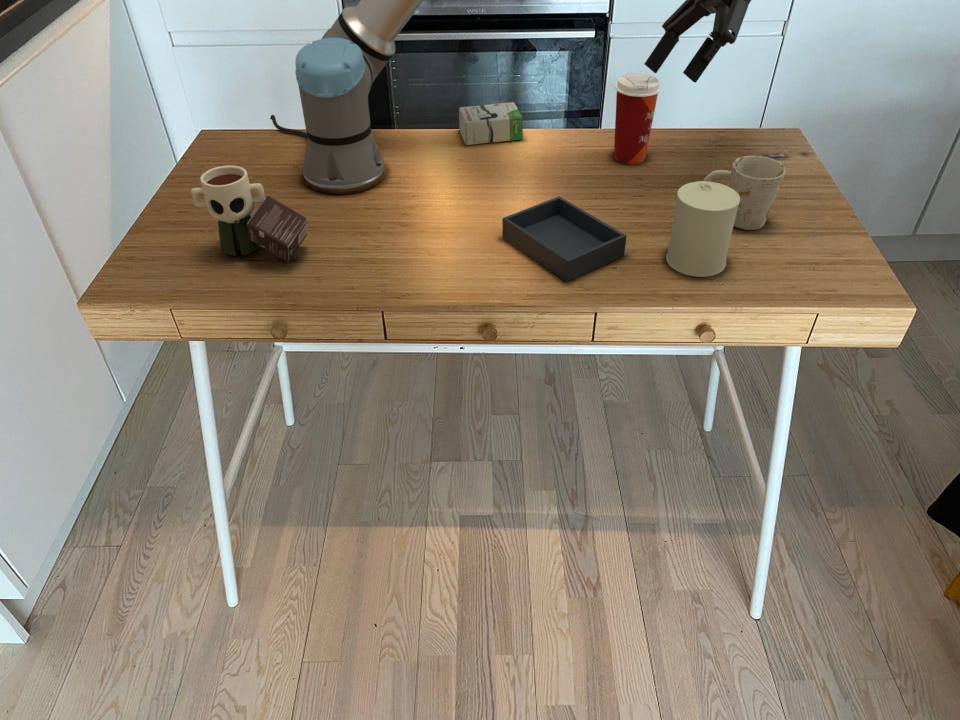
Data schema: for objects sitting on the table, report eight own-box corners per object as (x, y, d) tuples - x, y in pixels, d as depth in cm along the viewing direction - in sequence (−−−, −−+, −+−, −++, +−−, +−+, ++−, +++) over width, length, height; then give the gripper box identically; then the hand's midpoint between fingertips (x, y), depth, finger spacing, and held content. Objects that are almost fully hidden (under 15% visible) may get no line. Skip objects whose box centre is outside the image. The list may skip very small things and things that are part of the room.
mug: (769, 237, 127) (784, 182, 121) (692, 225, 130) (702, 170, 124) (773, 213, 133) (787, 159, 127) (699, 202, 136) (709, 149, 130)
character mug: (204, 263, 123) (183, 189, 115) (210, 239, 128) (190, 167, 120) (274, 257, 124) (258, 183, 116) (276, 234, 129) (261, 162, 121)
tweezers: (802, 151, 151) (801, 155, 151) (746, 155, 149) (745, 159, 149) (807, 152, 149) (807, 156, 150) (750, 156, 147) (750, 160, 148)
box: (288, 263, 123) (248, 240, 123) (308, 234, 126) (268, 211, 125) (288, 248, 118) (245, 223, 117) (309, 217, 120) (267, 194, 119)
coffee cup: (653, 166, 147) (665, 88, 137) (610, 166, 147) (618, 88, 138) (647, 147, 154) (657, 71, 144) (606, 147, 154) (613, 72, 144)
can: (719, 245, 125) (733, 178, 118) (731, 277, 118) (748, 207, 111) (662, 245, 126) (672, 177, 118) (671, 277, 119) (683, 207, 111)
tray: (502, 238, 128) (502, 218, 126) (558, 215, 133) (559, 195, 131) (566, 282, 118) (568, 261, 115) (624, 256, 123) (626, 235, 121)
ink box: (523, 116, 153) (464, 123, 152) (523, 140, 157) (465, 146, 155) (513, 100, 160) (457, 106, 159) (513, 123, 163) (458, 129, 162)
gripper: (808, -26, 119) (723, 95, 124) (719, -27, 140) (649, 77, 145) (779, -58, 116) (692, 68, 120) (692, -54, 137) (621, 53, 142)
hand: (668, 73), depth 133 cm, fingers open, 13 cm apart
